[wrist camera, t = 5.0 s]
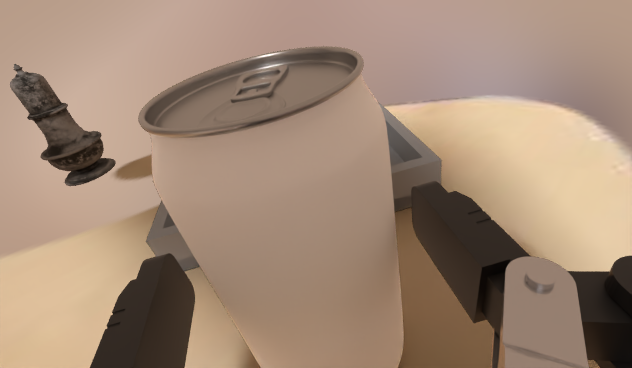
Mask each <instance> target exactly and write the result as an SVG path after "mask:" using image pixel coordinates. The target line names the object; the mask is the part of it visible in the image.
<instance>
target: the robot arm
mask: <svg viewBox="0 0 632 368" xmlns="http://www.w3.org/2000/svg"><path fill="white" fill-rule="evenodd" d="M411 199H412V223H413V228H414V231H415V233H416V236H417V238H418V239H419V241H420V243H421V244H422V246H423V247H424V249H425V250H426V252H427V253H428V255H429V256H430V258H431V259H432V261H433V262H434V264H435V265H436V267H437V268H438V270H439V271H440V273H441V274H442V276H443V277H444V279H445V280H446V282H447V283H448V285H449V286H450V288H451V289H452V291H453V292H454V294H455V295H456V297H457V298H458V300H459V301H460V303H461V304H462V306H463V307H464V309H465V310H466V312H467V314H468V315H469V317H470V318H471V320H472V321H473V323H476V322H480V321H483V320H486V319H487V320H488V322H489V323H490V324H491V326H492V327H493V336H492V351H491V365H490V368H589V365H588V361H587V360H595V362H596V363H597V364H598V365H599V366H600V367H601V368H632V256H625V257H622V258H620V259H618V260H616V261H615V262H614V264H613V266H612V268H611V270H610V272H574V271H566V270H565V269H564V268H562V267H561V266H559V265H558V264H556V263H554V262H552V261H549V260H546V259H543V258H539V257H531V256H530V255H529V254H527V253H526V252H525V251H524V250H523V249H522V248H521V247H520V246H519V245H518V244H517V243H516V242H515V241H514V240H513V239H512V238H511V237H510V236H509V235H508V234H507V233H506V232H505V231H504V230H503V229H502V228H501V227H500V226H499V225H498V224H497V223H496V222H495V221H494V220H491V217H490V216H489V215H488V214H486V213H485V212H484V211H482V209H481V208H480V207H479V206H478V205H477V204H476V203H475V202H474V201H473V200H472V199H471V198H469V197H467V196H465V195H463V194H461V193H459V192H457V191H454V192H450V193H448V192H447V191H446V190H445V189H444V188H443V187H442V186H441V185H440V184H439V183H438V182H437V181H431V182H427V183H424V184H420V185H417V186H413V187H412V189H411ZM194 304H195V293H194V289H193V286H192V283H191V282H190V280H189V279H188V277H187V275H186V274H185V272H184V271H183V269H182V268H181V266H180V265H179V263H178V262H177V260H176V259H175V257H174V256H173V255H172V254H170V253H168V254H164V255H160V256H157V257H153V258H150V259H146V260H144V261H143V263H142V265H141V268H140V270H139V273H138V276H137V279H135V280H131V281H130V282H129V284H128V285H127V286H126V287H125V289H124V290H123V291H122V293H121V294H120V295H119V297H118V299H117V302H116V304H115V307H114V309H113V312H112V313H113V315H111V317H110V319H109V322H108V324H107V329H105V331H104V334H103V336H102V339H101V341H100V344H99V346H98V349H97V351H96V354H95V356H94V359H93V361H92V364H91V366H90V368H184V367H185V361H186V354H187V348H188V342H189V335H190V329H191V323H192V316H193V310H194Z"/></svg>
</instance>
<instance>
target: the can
mask: <svg viewBox="0 0 632 368" xmlns="http://www.w3.org/2000/svg"><path fill="white" fill-rule="evenodd" d="M363 66H364V62H363V58H362V57H361V55H360V54H359V53H357V52H355V51H353V50H350V49H346V48H341V47H306V48H297V49H289V50H284V51H277V52H273V53H267V54H263V55H259V56H254V57H250V58H247V59H243V60H239V61H236V62H232V63H229V64H226V65H223V66H220V67H217V68H214V69H211V70H208V71H206V72H203V73H200V74H198V75H195V76H193V77H191V78H188V79H186V80H184V81H182V82H180V83H178V84H176V85H174V86H172V87H170V88H168V89H167V90H165V91H163V92H161V93H160V94H158V95H157V96H155V97H154V98H153V99H151V100H150V101H149V102H148V103H147V104H146V105H145V106H144V107H143V108H142V110H141V112H140V114H139V118H138V119H139V123H140V125H141V127H142V128H143V129H144V130H146V131H147V132H149V133H150V136H151V142H152V176H153V182H154V185H155V187H156V190H157V192H158V194H159V196H160V198H161V200H162V202H163V204H164V205H165V207H166V209H167V211H168V213H169V215H170V216H171V218H172V220H173V221H174V223H175V225H176V227H177V228H178V230H179V232H180V233H181V235H182V237H183V239H184V240H185V242H186V244H187V245H188V247H189V249H190V250H191V252H192V254H193V256H194V257H195V259H196V261H197V262H198V264H199V266H200V267H201V269H202V271H203V272H204V274H205V276H206V277H207V279H208V281H209V283H210V284H211V286H212V288H213V289H214V291H215V293H216V294H217V296H218V298H219V299H220V301H221V303H222V304H223V306H224V308H225V309H226V311H227V313H228V314H229V316H230V318H231V319H232V321H233V323H234V324H235V326H236V328H237V329H238V331H239V333H240V334H241V336H242V338H243V339H244V341H245V343H246V344H247V346H248V348H249V349H250V351H251V353H252V354H253V356H254V357H255V359H256V361H257V362H258V364H259V366H260V367H261V368H398V366H399V363H400V360H401V356H402V352H403V343H404V330H403V314H402V300H401V287H400V274H399V261H398V248H397V236H396V224H395V211H394V200H393V188H392V176H391V165H390V154H389V144H388V135H387V127H386V122H385V117H384V114H383V111H382V109H381V107H380V105H379V104H378V102H377V100H376V99H375V97H374V96H373V94H372V93H371V91H370V90H369V88H368V87H367V85H366V84H365V82H364V80H363V78H362V74H361V72H362V70H363Z"/></svg>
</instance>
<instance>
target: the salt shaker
mask: <svg viewBox="0 0 632 368" xmlns="http://www.w3.org/2000/svg"><path fill="white" fill-rule="evenodd" d="M14 70H16V71H17V73H18V74H16V77H15V78H14V79H12V81H11V82H10V87H11V89H12V90H13V92H14V93H15V94H16V96H17V97H18V98H19V100H20V101H21V103H22V104H23V105H24V107H25V108H26V109H27V110H28V112H29V113H30V114H29V116H28V117H27V118H28V119H29V120H34V121H35V123H36V124H37V125H38V127H39V128H40V130H41V131H42V132H43V134H44V135H45V137H46V140H47V142H48V148H47V149H46V150H45V151H44V152H43V153H42V154H41V158H42V159H43V160H48V161H49V163H50V164H51V165H53V166H54V167H56V168H58V169H60V170H65V171H71V172H70V173H69V174H68V176H67V178H66V179H65V184H66V185H68V186H76V185H81V184H84V183H87V182H90V181H92V180H95V179H97V178H99V177H100V176H102V175H104V174H105V173H107V172H108V171H110V170H111V169H112V168H113V167H114V166H115V160H113V159H107V158H101V156H102V153H103V143H102V141H101V139H100V137H101V133H100V132H96V131H92V132H88V131H84V130H83V129H82V128H81V127H79V126H78V124H77V123H76V122H75V121H74V120H73V118H72V117H71V115H70V113H69V112H68V110H67V109H66V108H67V106H68V105H67V104H66V103H61V102H60V100H59V99H58V97H57V96H56V94H55V93H54V91H53V90H52V88H51V87H50V85H49V84H48V82H47V81H46V79H45V78H44V77H43V76H41V75H39V74H36V73H28V72H24V71H22V67H20V66H19V65H16V64H14Z"/></svg>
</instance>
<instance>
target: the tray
mask: <svg viewBox="0 0 632 368" xmlns="http://www.w3.org/2000/svg"><path fill="white" fill-rule="evenodd" d="M377 102H378V101H377ZM378 104H379V105H380V107H381V109H382V111H383V114H384V117H385V122H386V127H387V135H388V144H389V154H390V165H391V176H392V188H393V200H394V211H399V210H402V209H406V208H409V207H412V199H411V189H412V187H413V186H417V185H420V184H424V183H427V182H431V181H437V182H438V183H439V184H440V185H441V159H440V158H439V157H438V156H437V155H436V154H435V153H434V152H432V151H431V150H430V149H429V148H428V147H427V146H426V145H425V144H424V143H423V142H422V141H420V140H419V139H418V138H417V137H416V136H415V135H414V134H413V133H412V132H411V131H410V130H408V129H407V128H406V127H405V126H404V125H403V124H402V123H401V122H400V121H399V120H398V119H396V118H395V117H394V116H393V115H392V114H391V113H390V112H389V111H388V110H387V109H386V108H384V107H383V106H382V105H381V104H380V103H379V102H378ZM146 242H147V244H148V245H149V247H150V248H151V249H152V251H153V252H154V254H155V255H156V257H157V256H160V255H164V254H168V253H170V254H172V255H173V256H174V257H175V259H176V260H177V262H178V263H179V265H180V266H181V268H182V269H183V271H186V270H189V269H193V268H196V267H200V266H199V264H198V262H197V261H196V259H195V257H194V256H193V254H192V252H191V250H190V249H189V247H188V245H187V244H186V242H185V240H184V239H183V237H182V235H181V233H180V232H179V230H178V228H177V227H176V225H175V223H174V221H173V220H172V218H171V216H170V215H169V213H168V211H167V209H166V207H165V205H164V204H163V202H162V200H161V203H160V206H159V208H158V211H157V213H156V216H155V219H154V221H153V224H152V227H151V229H150V232H149V234H148V237H147V240H146Z"/></svg>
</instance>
